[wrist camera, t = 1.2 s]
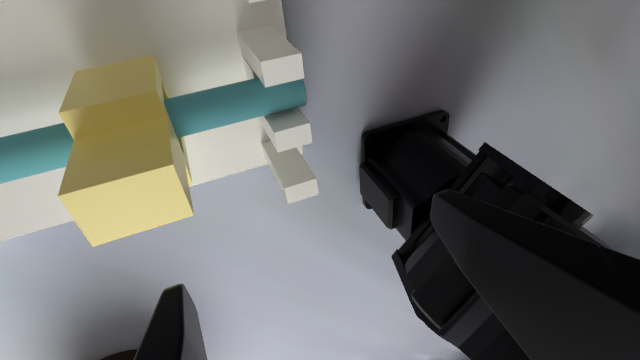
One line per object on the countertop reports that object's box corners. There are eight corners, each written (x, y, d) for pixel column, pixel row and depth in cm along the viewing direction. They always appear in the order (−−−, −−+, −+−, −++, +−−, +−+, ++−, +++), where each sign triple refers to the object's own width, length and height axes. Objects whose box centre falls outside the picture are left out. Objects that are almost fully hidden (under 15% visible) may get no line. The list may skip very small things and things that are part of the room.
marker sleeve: (153, 55, 15) (161, 134, 10) (184, 137, 18) (202, 237, 12) (75, 71, 15) (36, 165, 9) (118, 155, 17) (107, 268, 12)
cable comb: (265, -68, 16) (308, -60, 12) (297, 145, 23) (332, 197, 19) (-501, 38, 11) (-906, 120, 7) (-164, 276, 17) (-258, 390, 13)
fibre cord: (274, 28, 18) (311, 61, 14) (285, 98, 20) (320, 143, 16) (-367, 158, 12) (-590, 267, 9) (-254, 233, 15) (-392, 347, 11)
